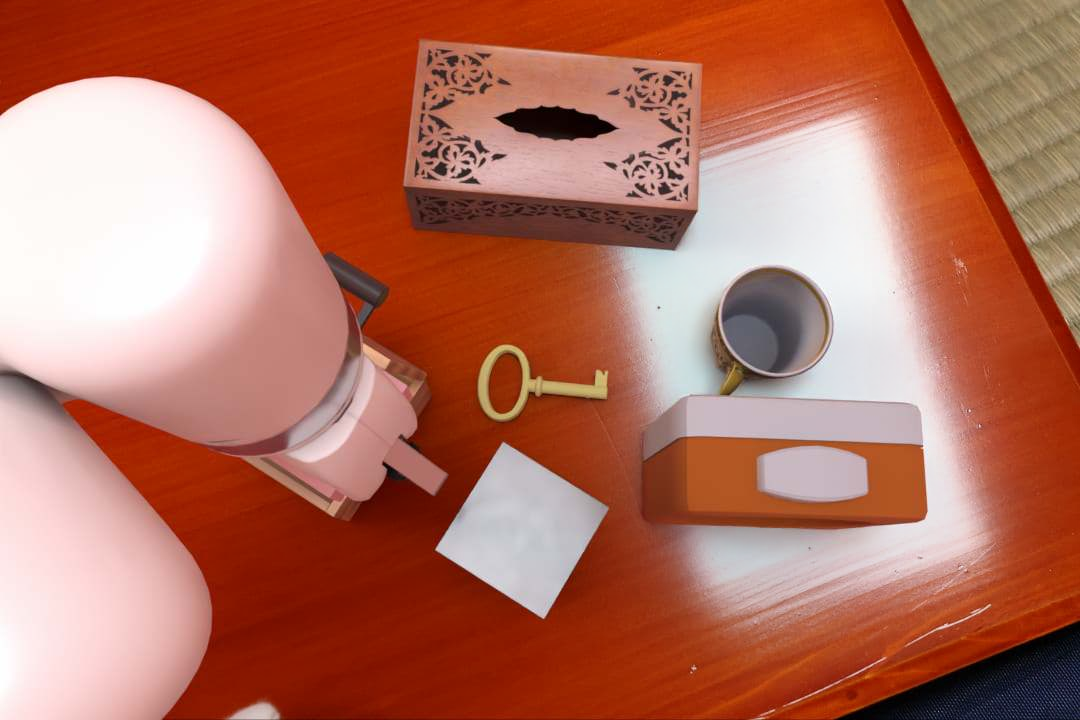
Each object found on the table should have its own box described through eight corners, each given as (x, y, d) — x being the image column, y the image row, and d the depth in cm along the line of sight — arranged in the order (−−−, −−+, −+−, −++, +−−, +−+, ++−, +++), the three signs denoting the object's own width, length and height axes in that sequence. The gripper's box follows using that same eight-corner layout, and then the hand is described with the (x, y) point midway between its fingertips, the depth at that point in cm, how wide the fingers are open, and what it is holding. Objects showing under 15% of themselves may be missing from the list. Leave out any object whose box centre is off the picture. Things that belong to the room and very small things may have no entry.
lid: (384, 370, 59) (423, 307, 59) (243, 282, 59) (282, 221, 60) (422, 381, 73) (453, 331, 73) (308, 311, 74) (339, 261, 74)
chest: (349, 521, 78) (333, 517, 70) (243, 453, 79) (216, 442, 71) (432, 395, 81) (425, 378, 73) (329, 331, 82) (312, 308, 74)
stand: (529, 601, 77) (544, 620, 53) (453, 553, 78) (434, 550, 53) (575, 523, 79) (610, 507, 55) (500, 477, 80) (502, 440, 55)
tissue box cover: (413, 229, 85) (403, 186, 75) (428, 96, 88) (419, 38, 78) (675, 250, 85) (697, 210, 76) (679, 118, 89) (701, 63, 79)
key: (612, 400, 82) (615, 396, 80) (484, 427, 81) (483, 423, 78) (595, 328, 83) (597, 322, 81) (469, 353, 82) (468, 348, 80)
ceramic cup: (728, 279, 85) (758, 242, 75) (813, 337, 84) (855, 307, 74) (655, 383, 82) (676, 360, 72) (743, 444, 81) (776, 429, 72)
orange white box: (640, 523, 79) (688, 511, 59) (640, 428, 81) (687, 386, 61) (838, 530, 80) (952, 520, 60) (834, 436, 82) (943, 396, 62)
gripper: (-16, 304, 30) (174, 399, 48) (388, 573, 29) (429, 568, 46) (122, 140, 32) (256, 291, 49) (511, 387, 30) (505, 451, 48)
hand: (339, 425), depth 48 cm, fingers closed on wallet, 4 cm apart
